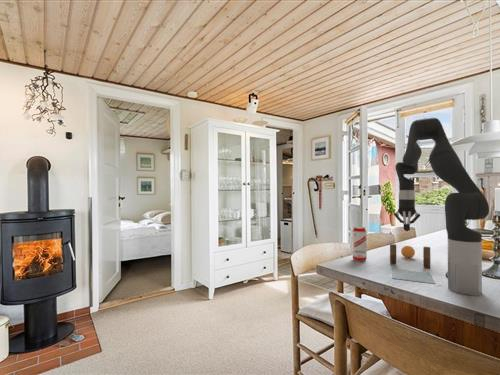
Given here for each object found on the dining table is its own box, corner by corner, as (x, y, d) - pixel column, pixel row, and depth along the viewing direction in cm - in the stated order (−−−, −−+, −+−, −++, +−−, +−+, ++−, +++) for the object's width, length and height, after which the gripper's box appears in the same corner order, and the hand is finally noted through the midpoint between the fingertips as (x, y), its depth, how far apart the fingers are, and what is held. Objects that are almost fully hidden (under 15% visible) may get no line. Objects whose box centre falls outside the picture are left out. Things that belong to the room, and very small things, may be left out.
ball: (415, 260, 135) (415, 247, 135) (401, 258, 138) (401, 246, 138) (414, 257, 140) (414, 245, 140) (401, 255, 143) (400, 244, 143)
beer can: (367, 262, 131) (367, 228, 131) (353, 261, 132) (353, 228, 132) (365, 259, 137) (364, 226, 137) (351, 258, 138) (351, 226, 138)
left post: (396, 265, 126) (396, 245, 126) (390, 264, 127) (389, 244, 127) (396, 263, 128) (396, 244, 128) (390, 263, 129) (389, 243, 129)
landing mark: (435, 284, 101) (435, 283, 101) (391, 278, 107) (391, 278, 107) (430, 273, 113) (430, 273, 113) (392, 269, 120) (392, 268, 120)
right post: (430, 268, 120) (430, 248, 120) (423, 268, 121) (423, 247, 121) (430, 267, 122) (429, 246, 122) (423, 266, 123) (423, 246, 123)
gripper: (392, 198, 148) (392, 231, 149) (421, 199, 142) (421, 232, 142) (392, 198, 155) (392, 229, 155) (420, 198, 149) (420, 230, 149)
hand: (406, 230), depth 149 cm, fingers closed
